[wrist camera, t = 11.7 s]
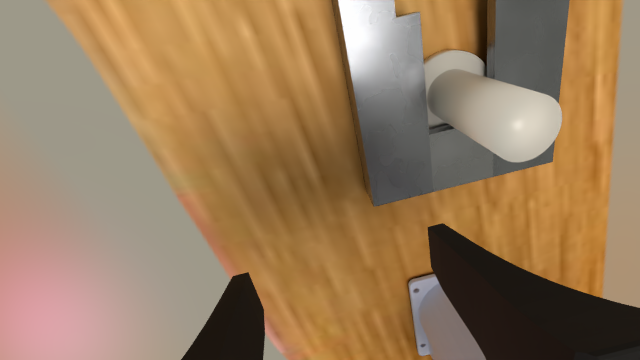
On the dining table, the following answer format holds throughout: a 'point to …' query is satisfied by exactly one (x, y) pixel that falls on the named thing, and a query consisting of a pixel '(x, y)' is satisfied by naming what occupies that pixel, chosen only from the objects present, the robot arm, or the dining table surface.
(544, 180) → the dining table surface
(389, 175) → the keyhole plate
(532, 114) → the peg
